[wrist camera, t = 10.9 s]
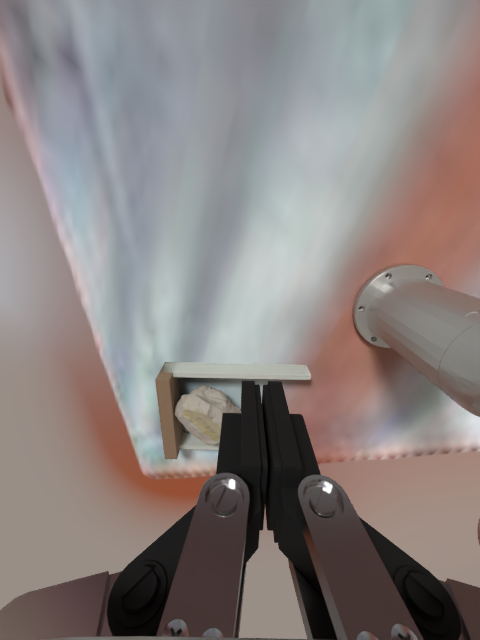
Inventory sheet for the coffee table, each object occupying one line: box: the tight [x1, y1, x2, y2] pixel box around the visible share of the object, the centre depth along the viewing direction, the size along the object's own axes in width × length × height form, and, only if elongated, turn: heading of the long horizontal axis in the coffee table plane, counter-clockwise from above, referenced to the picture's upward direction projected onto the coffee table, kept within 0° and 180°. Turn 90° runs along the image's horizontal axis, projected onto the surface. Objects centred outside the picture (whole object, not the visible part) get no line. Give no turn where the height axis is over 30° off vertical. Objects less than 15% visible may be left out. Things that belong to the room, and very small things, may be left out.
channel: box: [155, 362, 311, 459], centre depth 42 cm, size 23×16×5 cm
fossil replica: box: [174, 385, 241, 445], centre depth 40 cm, size 12×8×10 cm
